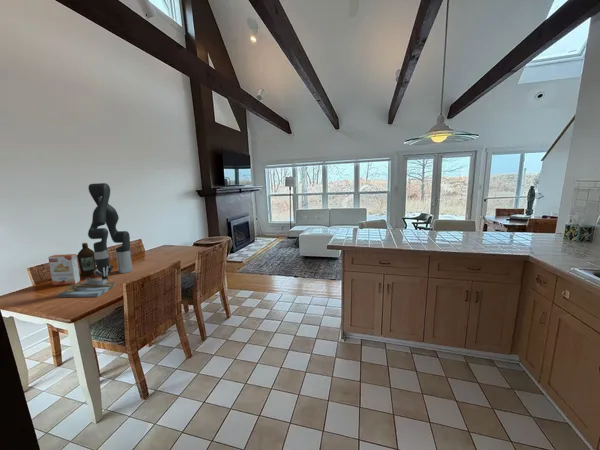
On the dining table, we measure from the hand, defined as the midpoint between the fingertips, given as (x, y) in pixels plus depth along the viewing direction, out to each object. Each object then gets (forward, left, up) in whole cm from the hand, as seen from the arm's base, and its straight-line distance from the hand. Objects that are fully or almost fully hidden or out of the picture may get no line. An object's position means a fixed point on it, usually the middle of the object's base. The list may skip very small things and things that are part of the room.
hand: (105, 281), depth 175 cm
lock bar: (+3, -4, -1) cm, 5 cm away
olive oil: (-26, -31, -4) cm, 40 cm away
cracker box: (-7, -32, -4) cm, 33 cm away
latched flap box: (+8, -6, -4) cm, 10 cm away
